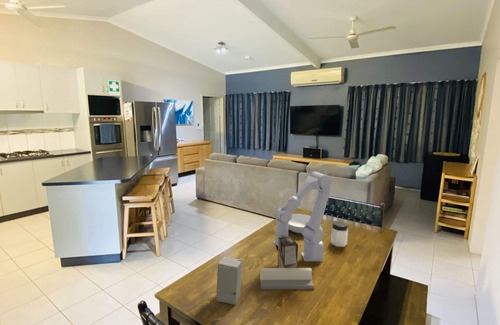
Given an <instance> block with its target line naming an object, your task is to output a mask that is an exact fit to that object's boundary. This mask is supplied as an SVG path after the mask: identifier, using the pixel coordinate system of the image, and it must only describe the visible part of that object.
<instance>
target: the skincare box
mask: <svg viewBox="0 0 500 325" xmlns="http://www.w3.org/2000/svg"><path fill="white" fill-rule="evenodd" d="M242 268H243V259H239V258H235V257H229V256H224V255H223V256H222V257H221V259H220V260H219V262H218V263H217V274H216V275H217V276H216V277H217V278H216V295H215V296H216V297H215V298H216V302H220V303H224V304H225V303H226V304H230V305H234V306H236V305H237V303H238V301H239V299H240V296H241V287H242V272H243V271H242V270H243V269H242Z"/></svg>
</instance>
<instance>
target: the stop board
mask: <svg viewBox="0 0 500 325" xmlns="http://www.w3.org/2000/svg"><path fill="white" fill-rule="evenodd" d="M259 271H260V273H259V274H260V276H259V277H260V279H259V280H260V283H259V284H260V289H261V290H314V289H315V285H314V283H313V280H312V279H313V278H312V277H313V276H312V275H313V270H312V268H311V267H297V268H278V267H260V270H259Z"/></svg>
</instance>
